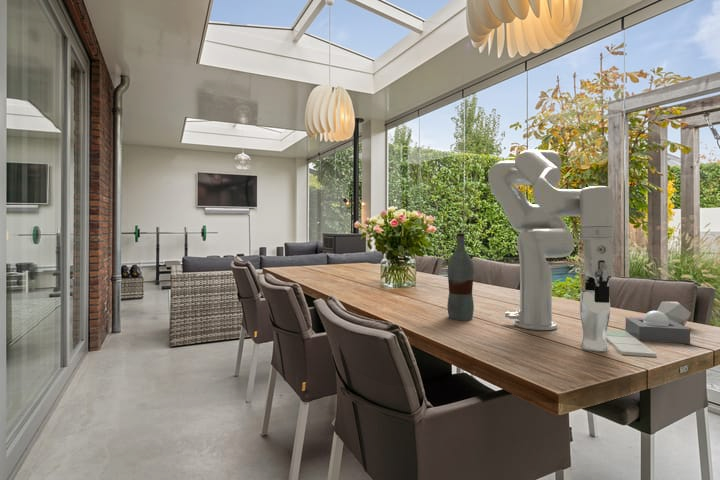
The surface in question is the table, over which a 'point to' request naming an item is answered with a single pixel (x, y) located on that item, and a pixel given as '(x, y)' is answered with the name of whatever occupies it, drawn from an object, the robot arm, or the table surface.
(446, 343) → the table surface
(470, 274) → the bottle
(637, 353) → the coaster
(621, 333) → the coaster
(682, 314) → the die
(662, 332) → the box
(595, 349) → the beer glass
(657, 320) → the dome
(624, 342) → the coaster
